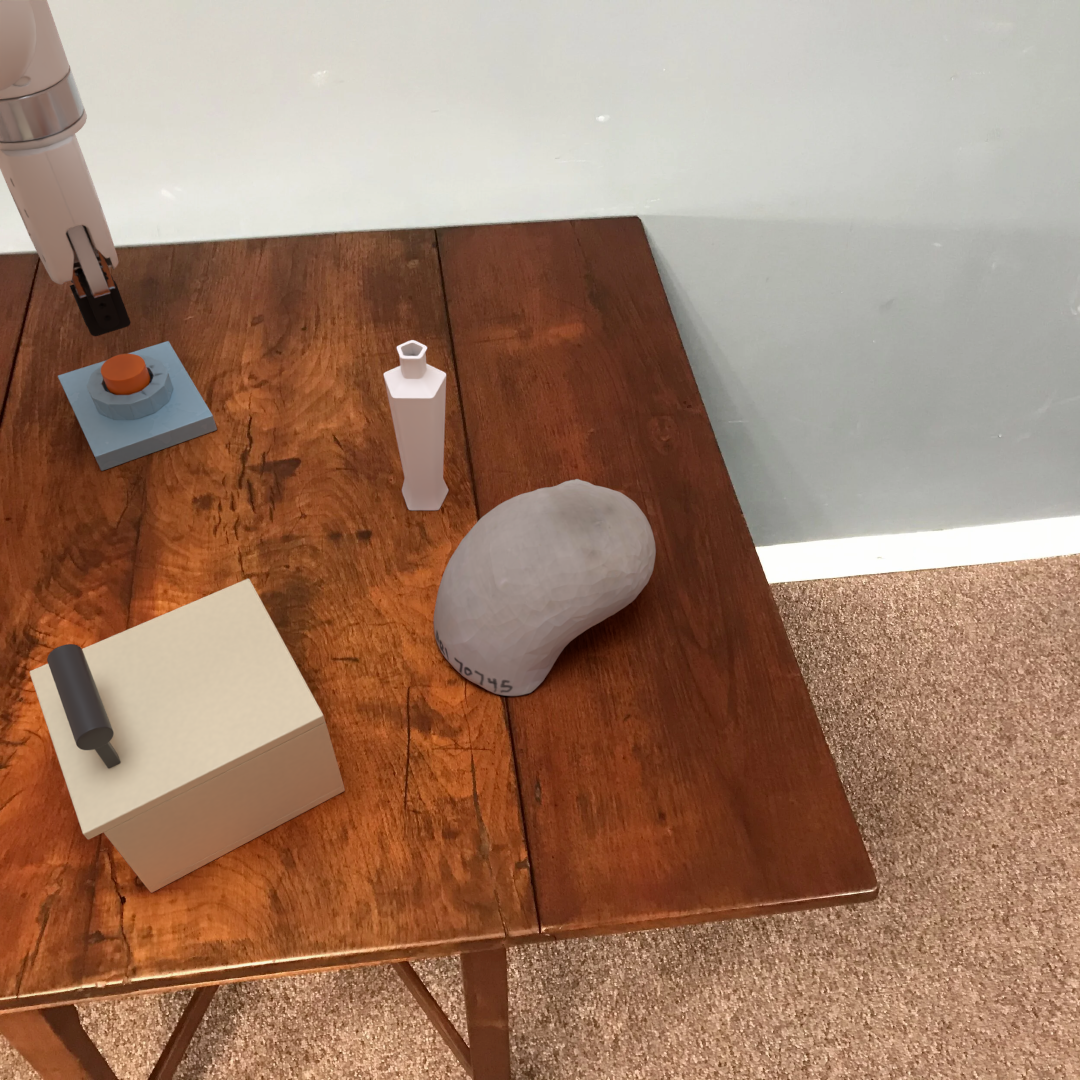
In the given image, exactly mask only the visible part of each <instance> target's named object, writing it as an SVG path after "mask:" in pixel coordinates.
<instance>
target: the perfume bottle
mask: <svg viewBox="0 0 1080 1080" xmlns="http://www.w3.org/2000/svg"><path fill="white" fill-rule="evenodd" d="M427 350H428V346H427V345H425V344H423V343H422V342H419V341H417V340H415V339H411V340H408V341H405V342H403V343H400V344H399V345H397V346H396V351H397V353H398V356H399V364H400V365H398V366H396V367H394V368H392V369H389V370H387V371H385V372H384V373H383V379H384V384H385V390H386V393H387V398H388V399H387V400H388V404H389V409H390V413H391V419H392V424H393V428H394V433H395V438H396V443H397V448H398V453H399V457H400V463H401V468H402V472H403V478H404V480H403V484H402V487H401V493H402V496H403V499H404V502H405V504H406V508H407V509H408V510H409V511H439V510H440V509H441V506H442V505H443V503H444V501H445V499H446V497H447V495H448V493H449V488H448V485H447V484H446V481H445V479H444V462H445V460H444V459H445V458H444V457H445V429H446V428H445V427H446V425H445V424H446V396H447V394H446V393H447V373H446V372H445V371H443V370H441V369H438V368H437V367H435V366H433V365H431V364H428V363H427V356H426V355H427V354H426V352H427Z"/></svg>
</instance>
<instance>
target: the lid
mask: <svg viewBox="0 0 1080 1080" xmlns="http://www.w3.org/2000/svg"><path fill="white" fill-rule="evenodd" d="M46 662H47V663H45V664H43V665H40V666H39V667H36V668H34V669H32V670H29V675H30V678H31V681H32V685H33V687H34V691H35V693H36V697H37V700H38V703H39V706H40V708H41V712H42V715H43V718H44V721H45V724H46V727H47V729H48V733H49V736H50V738H51V742H52V745H53V749H54V751H55V754H56V757H57V760H58V764H59V766H60V770H61V772H62V775H63V778H64V781H65V784H66V788H67V791H68V794H69V796H70V799H71V803H72V806H73V808H74V812H75V814H76V818H77V821H78V823H79V827H80V830H81V833H82V835H83V836H84V837H85V838H86V839H87V840H91V839H93V838H95V837H97V836H99V835H101V834H104V833H103V832H105V831H107V830H109V829H111V828H113V827H115V826H117V825H119V824H121V823H123V822H125V821H127V820H129V819H131V818H133V817H135V816H137V815H139V814H141V813H143V812H145V811H147V810H149V809H151V808H153V807H155V806H157V805H159V804H161V803H163V802H165V801H167V800H169V799H171V798H173V797H175V796H177V795H179V794H181V793H183V792H185V791H187V790H189V789H191V788H193V787H195V786H197V785H199V784H201V783H203V782H205V781H207V780H209V779H211V778H213V777H215V776H217V775H219V774H221V773H223V772H225V771H227V770H229V769H231V768H233V767H236V766H238V765H240V764H242V763H244V762H246V761H248V760H250V759H252V758H254V757H256V756H258V755H260V754H262V753H264V752H266V751H268V750H270V749H272V748H274V747H276V746H278V745H280V744H282V743H284V742H286V741H288V740H290V739H292V738H294V737H296V736H298V735H300V734H302V733H304V732H306V731H308V730H310V729H312V728H314V727H316V726H318V725H320V724H322V723H324V722H326V718H325V716H324V714H323V713H324V712H323V711H322V709H321V707H320V705H319V704H318V702H317V700H316V698H315V696H314V695H313V693H312V691H311V689H310V687H309V686H308V684H307V682H306V680H305V678H304V676H303V675H302V673H301V670H300V669H299V667H298V665H297V664H296V661H295V660H294V658H293V656H292V654H291V653H290V651H289V649H288V647H287V645H286V643H285V641H284V639H283V638H282V636H281V634H280V632H279V630H278V629H277V627H276V625H275V623H274V621H273V619H272V617H271V616H270V614H269V612H268V610H267V609H266V606H265V605H264V603H263V601H262V599H261V597H260V596H259V593H258V592H257V590H256V588H255V586H254V584H253V583H252V580H251V579H250V578H246V579H243V580H241V581H239V582H236V583H234V584H232V585H230V586H227V587H225V588H222V589H220V590H218V591H215V592H213V593H211V594H208V595H206V596H203V597H201V598H199V599H197V600H194V601H191V602H189V603H186V604H184V605H182V606H180V607H177V608H175V609H173V610H171V611H168V612H166V613H163V614H161V615H159V616H155V617H154V618H152V619H151V618H150V619H149V620H147V621H144V622H141V623H140V624H136V625H135V626H133V627H130V628H128V629H126V630H123V631H121V632H119V633H115V634H114V635H111V636H109V637H107V638H105V639H102V640H100V641H97V642H95V643H93V644H90V645H88V646H86V647H83V648H82V647H81V646H80V645H78V644H75V643H68V644H67V643H66V644H63V645H60V646H57V647H55V648H54V649H52V650H51V651H50V652H49V654H48V655H47V659H46Z"/></svg>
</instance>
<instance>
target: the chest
mask: <svg viewBox="0 0 1080 1080" xmlns="http://www.w3.org/2000/svg"><path fill="white" fill-rule="evenodd" d="M345 791H346V789H345V785H344V782H343V778H342V775H341V771H340V767H339V764H338V760H337V756H336V754H335V750H334V747H333V742H332V740H331V735H330V733H329V729H328V725H327V722H326V721H325V722H324V723H322V724H320V725H318V726H316V727H314V728H312V729H310V730H308V731H306V732H304V733H302V734H300V735H298V736H296V737H294V738H292V739H290V740H288V741H286V742H284V743H282V744H280V745H278V746H276V747H274V748H272V749H270V750H268V751H266V752H264V753H262V754H260V755H258V756H256V757H254V758H252V759H250V760H248V761H246V762H244V763H242V764H240V765H238V766H236V767H233V768H231V769H229V770H227V771H225V772H223V773H221V774H219V775H217V776H215V777H213V778H211V779H209V780H207V781H205V782H203V783H201V784H199V785H197V786H195V787H193V788H191V789H189V790H187V791H185V792H183V793H181V794H179V795H177V796H175V797H173V798H171V799H169V800H167V801H165V802H163V803H161V804H159V805H157V806H155V807H153V808H151V809H149V810H147V811H145V812H143V813H141V814H139V815H137V816H135V817H133V818H131V819H129V820H127V821H125V822H123V823H121V824H119V825H117V826H115V827H113V828H111V829H109V830H107V831H105V832H103V833H102V834H104V836H105V837H106V838H107V839H108V840H109V842H110V843H111V845H112V846H113V847H114V848H115V849H116V850H117V852H118V853H119V854H120V856H121V857H122V859H124V861H125V862H126V863H127V865H128V866H129V867H130V869H131V870H132V871H133V872H134V874H135V875H136V876H137V877H138V879H139V880H140V881H141V882H142V884H143V885H144V886H145V888H146V889H147V890H148V891H149V893H152V894H153V893H155V892H156V891H158V890H159V889H162V888H164V887H165V886H168V885H170V884H171V883H173V882H175V881H177V880H179V879H181V878H182V877H185V876H186V875H188V874H190V873H192V872H194V871H196V870H198V869H200V868H202V867H203V866H205V865H208V864H209V863H211V862H213V861H215V860H217V859H219V858H221V857H222V856H224V855H226V854H229V853H230V852H232V851H234V850H236V849H238V848H239V847H241V846H243V845H244V844H247V843H249V842H250V841H253V840H254V839H256V838H258V837H260V836H262V835H264V834H266V833H268V832H270V831H272V830H273V829H275V828H277V827H279V826H281V825H284V824H285V823H286V822H289V821H290V820H293V819H294V818H296V817H298V816H300V815H302V814H304V813H305V812H308V811H309V810H311V809H313V808H315V807H317V806H319V805H321V804H323V803H325V802H327V801H329V800H330V799H332V798H334V797H336V796H338V795H339V794H341V793H343V792H345Z"/></svg>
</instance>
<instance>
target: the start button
mask: <svg viewBox="0 0 1080 1080" xmlns="http://www.w3.org/2000/svg"><path fill="white" fill-rule="evenodd" d="M106 360H107V361H106ZM106 360H105V361H106V362H105V363H104V364H103V365H102V367H101V374H102V377H103V379H104V381H105V384H106V386H107V389H108V390H109V391H110V392H111V393H112V394H115V395H131V394H134V393H137V392H140V391H142V390H143V389H144V388H145V387H147V386H148V385H149V383H150V375H149V372H148V370H147V367H146V364H145V361H144V360H143V359H142V358H141V357H140V356H138V355H135V354H128V353H121V354H117V355H114V356H112V357H109V358H108V359H106Z"/></svg>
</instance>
